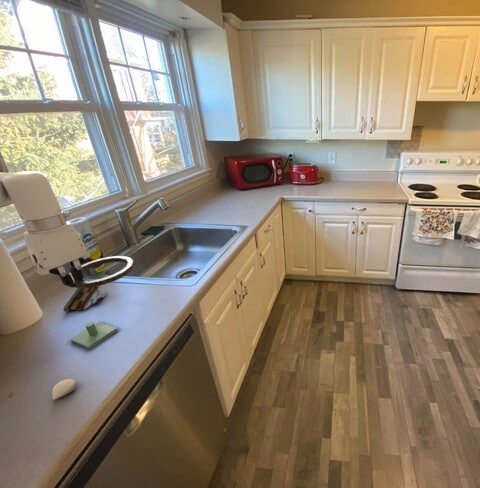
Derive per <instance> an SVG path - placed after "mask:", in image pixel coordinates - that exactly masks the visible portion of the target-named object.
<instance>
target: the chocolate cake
mask: <svg viewBox="0 0 480 488" xmlns="http://www.w3.org/2000/svg"><path fill="white" fill-rule="evenodd" d="M83 281H88V279H87V278H85V277H84V278H83ZM105 294H106V293H105V291H104V288H103V287H102V286H95V287H90V288H76V290H75V291H74V292H73V294H72V295H71V297H70V298H69V300H67V301H66V303H65V304H64V306H63V309H62V310H63V312H65V313H67V312H70V311H72V310H75V311H84V310H87V308H89V307H90V306H91V305H97V304H98V300H99V299H100V298H101V299H102V298H104V297H105Z"/></svg>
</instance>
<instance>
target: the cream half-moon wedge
mask: <svg viewBox="0 0 480 488" xmlns="http://www.w3.org/2000/svg"><path fill="white" fill-rule="evenodd" d="M76 386H77V382H76V381H75V380H74V379H72V378H71V379H70V378H68V379H63V380H61V381H59V382H58V383H56V384H55V385H54V386H53V388H52V391H51V398H52V400H57V399H60V398H62V397H63V396H66V395H67V394H69V393H71V392H72V391H74V389H75V388H76Z"/></svg>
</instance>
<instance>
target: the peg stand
mask: <svg viewBox="0 0 480 488" xmlns="http://www.w3.org/2000/svg"><path fill="white" fill-rule="evenodd" d="M84 327H85V330H83V331H82V332H80V333H79V334H77V335H75V336H73V337H72V338H70V342H71V343H74V344H76V345H79V346H80V347H83V348H86V349H88V350H91V349H92V348H94V347H96V346H97V345H98V344H100V343H102V341H104V340H106V339H107V338H109V337H110V336H112V335H113V334H115V333H116V332H117V331H118V328H116V327H114V326H112V325H109V324H106V323H103V322H101V321H98V322H96V323H94V321H91V322H87V323H86V324H85V326H84Z"/></svg>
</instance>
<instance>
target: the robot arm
mask: <svg viewBox="0 0 480 488" xmlns="http://www.w3.org/2000/svg"><path fill="white" fill-rule="evenodd" d="M10 203H12V204H13V206H14V208H15V210H16V212H17V214H18V216H19V218H20V219H21V222H22V224H23V226H24V227H25V230H26V231H24V232H23V233H22V234H23V239H24V243H25V246H26V249H27V252H28V254H29V257H30V258H31V261H32V263H33V264H34V266H35V267H36V274H37V275H39V276H47V275H56V276H59V278H60V281H61V282H62V285H64V286H65V287H69V288H75V284H74V281H73V279H75V280H78V281H83V280H84V279H85V277H84V275H83V272H81V270H80V269H81V265H83V263H84V261H85V260H86V259H88V258H89V257H91V253H90V252H89V251H88V250H87V248H86V246H85V244H84V240H83V239H82V237H81V236H80V234H79V233H78V231H77V230H76V228H75V227H74V226H73V224H72V222H70V221H68V219H67V218H69V217H71V213H70V211H63V210H62V208H61V206H60V203H59V202H58V199H57V197H56V195H55V192H54V190H53V188H52V185H51V182H50V180H49V179H48V177H47V175H46V174H45V173H43V172H42V171H37V170H27V171H24V170H23V171H17V172H2V171H0V207H1V206H5V205H7V204H10ZM66 264H69V267H70V268H69V273H70V272H71V275H72V277H73V279H72V277H71V275H70V274H69V273H68V272H67V271H66V270H65V267H64V265H66Z"/></svg>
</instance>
